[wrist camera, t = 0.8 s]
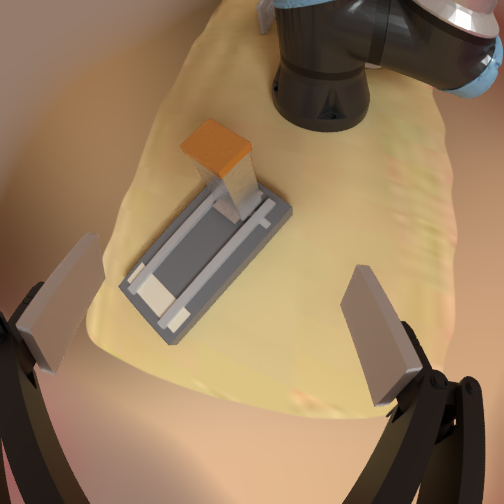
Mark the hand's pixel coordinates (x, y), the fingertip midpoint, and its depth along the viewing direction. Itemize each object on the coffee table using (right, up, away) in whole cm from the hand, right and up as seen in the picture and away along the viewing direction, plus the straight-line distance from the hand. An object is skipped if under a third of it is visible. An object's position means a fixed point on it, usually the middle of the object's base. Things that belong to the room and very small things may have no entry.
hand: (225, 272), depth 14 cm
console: (-4, +1, +21) cm, 21 cm away
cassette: (+5, +52, +34) cm, 62 cm away
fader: (0, +7, +19) cm, 20 cm away
